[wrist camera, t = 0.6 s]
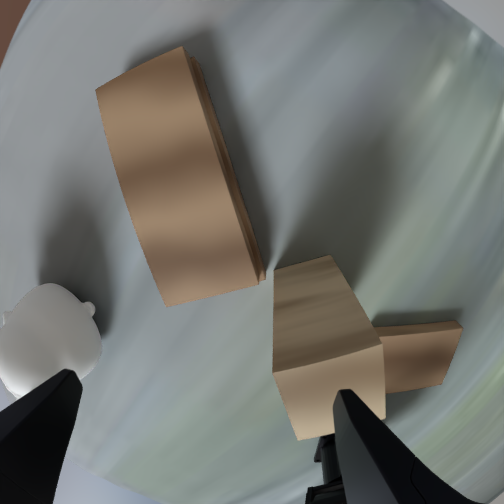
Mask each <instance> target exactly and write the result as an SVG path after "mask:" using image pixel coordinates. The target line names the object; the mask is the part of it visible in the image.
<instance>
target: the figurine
mask: <svg viewBox="0 0 504 504" xmlns="http://www.w3.org/2000/svg"><path fill="white" fill-rule="evenodd" d="M94 313H95V306H94V305H93V303H91V302H85V303H82V302H80V300H79V299H78V298H77V297H76V296H75V295H73V294H72V293H71V292H70V291H68V290H67V289H65V288H64V287H62V286H60V285H57V284H54V283H46V284H42V285H40V286H37V287H36V288H34V289H32V290H31V291H30V292H29V293H27V294H26V295H25V296H24V297H23V298H22V299H21V301H20V302H19V303H18V304H17V305H16V306H15V308H14V309H13V311H12V312H11V311H5V312H4V314H3V321H4V326H3V327H2V328H1V329H0V377H1V379H2V381H3V382H4V383H5V387H6V388H7V389H8V391H9V392H11V393H12V394H13V395H14V396H16V399H17V400H18V399H20V398H21V397H23V396H24V395H26V394H27V393H29V392H30V391H32V390H33V389H34V388H36V387H37V386H39V385H40V384H42V383H43V382H45V381H46V380H48V379H49V378H51V377H52V376H54V375H55V374H57V373H58V372H60V371H61V370H63V369H70V370H74V371H75V372H76V374H77V376H78V378H79V380H81V379H82V378H83V377H85V376H86V375H87V374H88V373H89V372H90V371H91V370H92V369H93V368H94V367H95V366H96V364H97V363H98V361H99V359H100V356H101V353H102V341H101V336H100V333H99V330H98V328H97V326H96V324H95V322H94V320H93V318H92V316H93V315H94Z"/></svg>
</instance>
